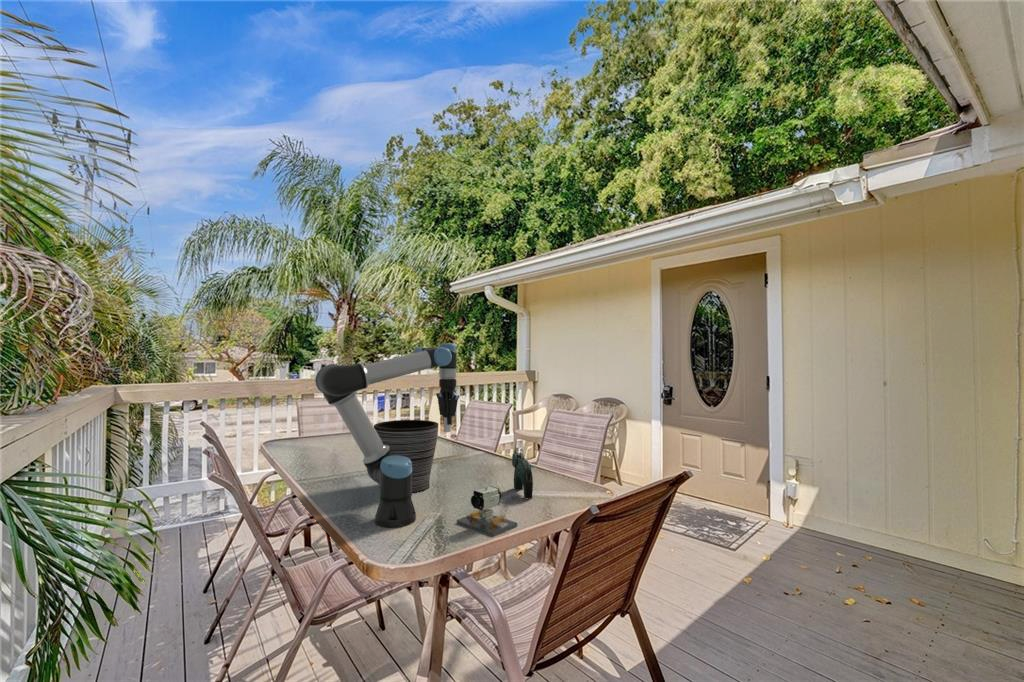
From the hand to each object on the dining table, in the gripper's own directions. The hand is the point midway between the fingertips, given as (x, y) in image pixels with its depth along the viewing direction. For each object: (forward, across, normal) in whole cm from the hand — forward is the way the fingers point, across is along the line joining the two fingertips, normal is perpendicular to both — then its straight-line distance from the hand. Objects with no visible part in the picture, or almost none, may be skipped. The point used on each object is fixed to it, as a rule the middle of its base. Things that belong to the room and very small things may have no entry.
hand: (447, 431), depth 203 cm
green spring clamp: (+30, -19, -30) cm, 46 cm away
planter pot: (+30, +28, +1) cm, 41 cm away
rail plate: (+29, -34, +10) cm, 46 cm away
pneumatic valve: (+28, -34, +10) cm, 45 cm away
